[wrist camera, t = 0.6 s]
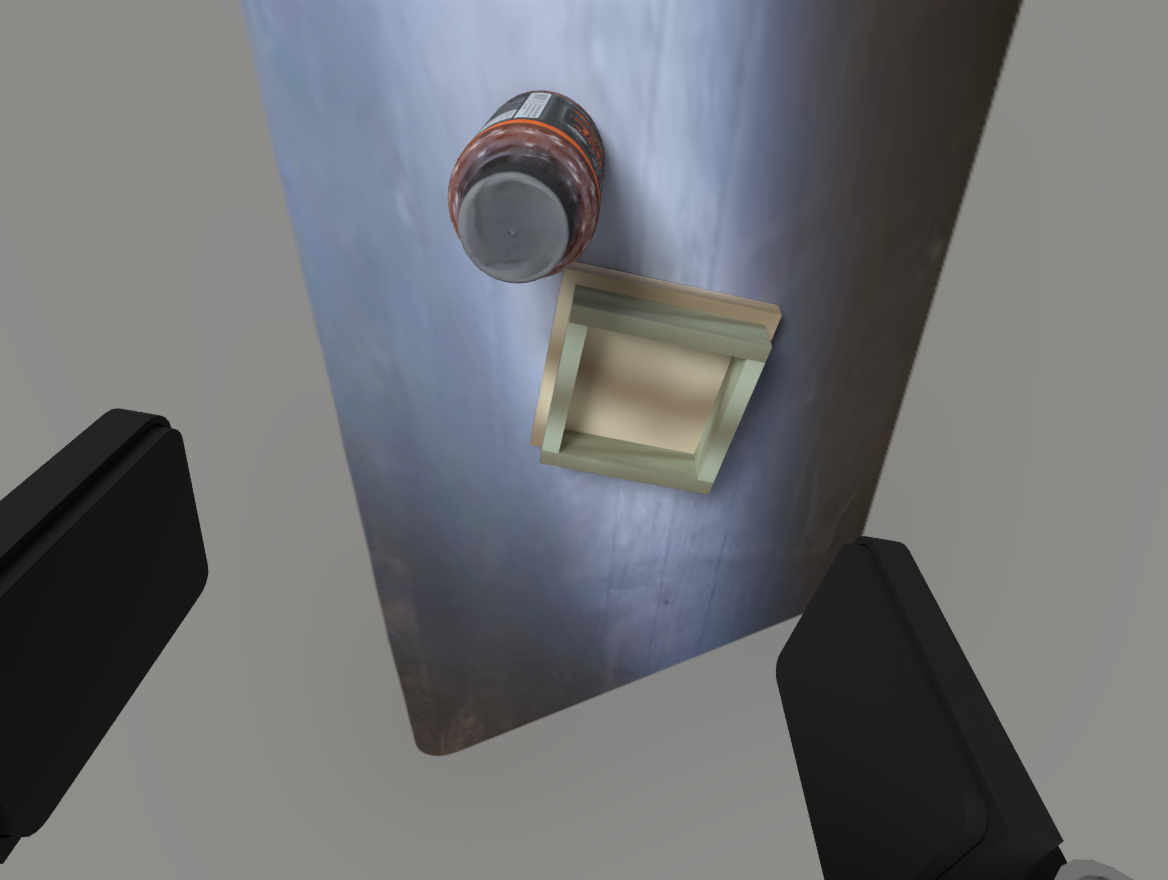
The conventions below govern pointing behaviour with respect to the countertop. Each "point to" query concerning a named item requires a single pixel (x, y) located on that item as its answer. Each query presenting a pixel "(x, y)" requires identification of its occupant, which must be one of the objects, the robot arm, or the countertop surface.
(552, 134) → the supplement bottle
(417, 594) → the countertop surface
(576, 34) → the countertop surface
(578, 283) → the socket board
